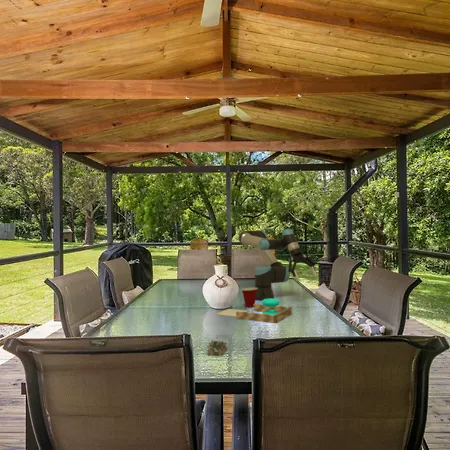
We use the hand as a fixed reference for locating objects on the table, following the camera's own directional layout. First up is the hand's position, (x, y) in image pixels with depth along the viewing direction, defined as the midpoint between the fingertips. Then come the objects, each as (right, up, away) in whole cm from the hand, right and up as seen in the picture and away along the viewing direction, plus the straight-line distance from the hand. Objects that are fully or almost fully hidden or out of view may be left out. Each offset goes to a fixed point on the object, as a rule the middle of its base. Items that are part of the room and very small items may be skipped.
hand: (306, 278), depth 260 cm
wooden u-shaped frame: (-32, -17, -36) cm, 51 cm away
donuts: (-28, -17, -38) cm, 50 cm away
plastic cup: (-39, -18, -7) cm, 43 cm away
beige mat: (-50, -17, -25) cm, 59 cm away
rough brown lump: (-58, -18, -97) cm, 114 cm away
